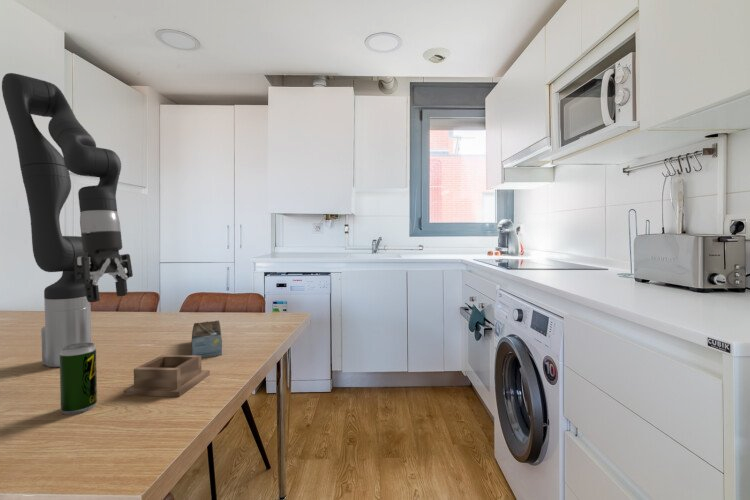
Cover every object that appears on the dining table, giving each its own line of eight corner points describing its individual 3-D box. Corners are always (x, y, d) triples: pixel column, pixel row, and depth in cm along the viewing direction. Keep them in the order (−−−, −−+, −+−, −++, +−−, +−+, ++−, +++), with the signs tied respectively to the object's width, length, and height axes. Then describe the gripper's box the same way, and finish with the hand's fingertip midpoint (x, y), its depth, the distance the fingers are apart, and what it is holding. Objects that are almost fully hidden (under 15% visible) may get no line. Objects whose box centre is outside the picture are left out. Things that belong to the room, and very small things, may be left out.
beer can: (58, 418, 64) (56, 352, 64) (63, 406, 69) (62, 344, 68) (95, 410, 67) (94, 347, 67) (98, 399, 72) (97, 340, 71)
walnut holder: (123, 395, 74) (123, 371, 74) (161, 373, 86) (161, 353, 85) (179, 396, 73) (179, 372, 73) (209, 374, 85) (209, 353, 85)
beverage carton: (190, 359, 96) (190, 335, 96) (193, 341, 114) (192, 321, 113) (222, 355, 100) (222, 332, 99) (220, 339, 117) (220, 319, 117)
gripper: (109, 233, 92) (116, 295, 92) (58, 231, 77) (66, 305, 78) (137, 230, 91) (144, 293, 92) (91, 228, 77) (99, 302, 78)
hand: (108, 298), depth 85 cm, fingers open, 8 cm apart
